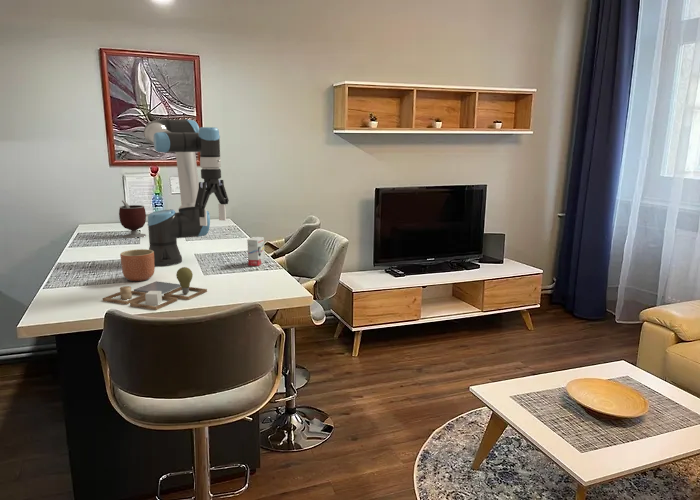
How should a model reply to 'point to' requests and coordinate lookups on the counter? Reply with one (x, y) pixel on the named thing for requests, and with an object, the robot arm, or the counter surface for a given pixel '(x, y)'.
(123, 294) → the cork stub
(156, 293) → the grey cube
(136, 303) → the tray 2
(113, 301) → the wooden square frame
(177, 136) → the robot arm
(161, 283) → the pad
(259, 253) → the ink box
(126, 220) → the mate gourd
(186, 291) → the light bulb
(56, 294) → the counter surface
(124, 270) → the planter
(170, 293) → the brown square outline
